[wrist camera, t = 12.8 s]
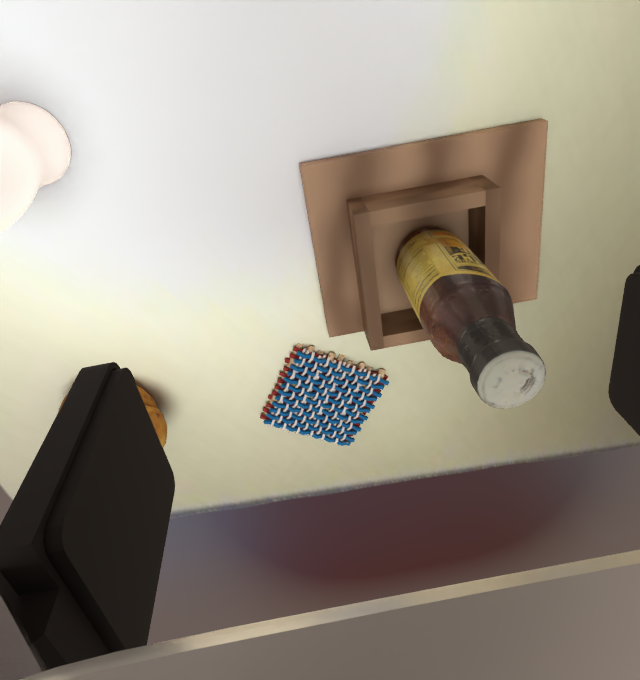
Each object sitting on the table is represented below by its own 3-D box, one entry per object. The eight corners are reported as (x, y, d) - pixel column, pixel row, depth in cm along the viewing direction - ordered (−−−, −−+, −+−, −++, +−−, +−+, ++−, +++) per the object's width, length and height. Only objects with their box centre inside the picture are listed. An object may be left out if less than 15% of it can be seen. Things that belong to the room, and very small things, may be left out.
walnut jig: (541, 118, 43) (573, 129, 39) (531, 293, 52) (556, 318, 47) (299, 163, 43) (303, 179, 39) (328, 331, 52) (334, 360, 47)
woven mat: (294, 335, 52) (295, 346, 50) (389, 367, 55) (393, 378, 53) (256, 414, 57) (256, 427, 55) (346, 440, 60) (348, 452, 58)
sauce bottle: (474, 257, 48) (593, 386, 31) (419, 301, 50) (502, 447, 33) (431, 204, 45) (536, 315, 28) (375, 253, 47) (441, 386, 30)
